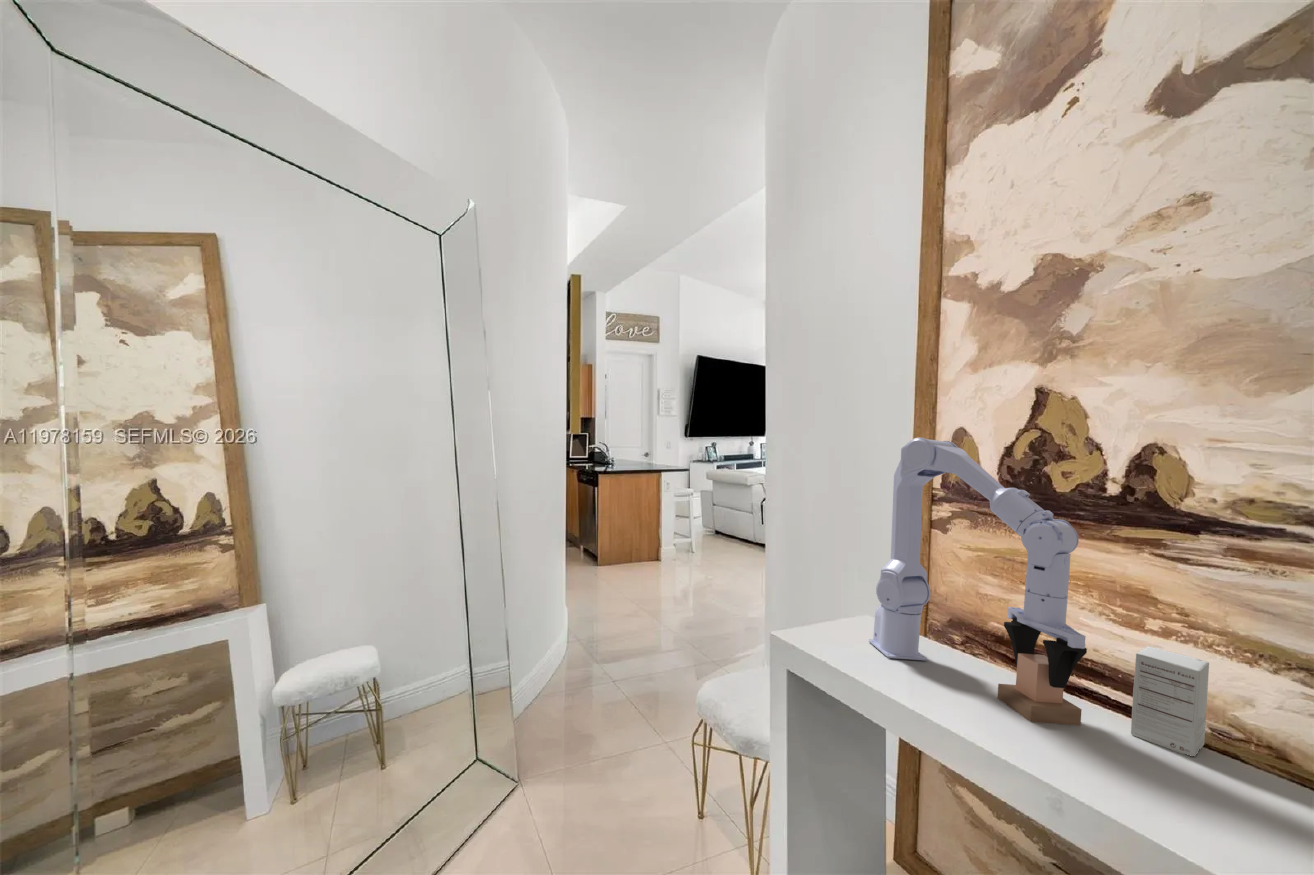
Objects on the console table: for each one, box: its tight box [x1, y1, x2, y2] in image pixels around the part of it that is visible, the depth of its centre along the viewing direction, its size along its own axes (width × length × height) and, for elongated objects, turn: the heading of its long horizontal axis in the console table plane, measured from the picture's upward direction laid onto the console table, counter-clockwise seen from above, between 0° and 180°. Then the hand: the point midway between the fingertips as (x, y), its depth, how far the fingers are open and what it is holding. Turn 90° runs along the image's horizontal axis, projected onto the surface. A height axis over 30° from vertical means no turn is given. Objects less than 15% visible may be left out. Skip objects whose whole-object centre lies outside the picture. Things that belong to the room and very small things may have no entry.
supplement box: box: [1130, 646, 1210, 757], centre depth 84 cm, size 7×7×13 cm
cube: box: [1015, 653, 1064, 703], centre depth 90 cm, size 4×4×6 cm
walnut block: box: [996, 683, 1082, 726], centre depth 90 cm, size 8×8×3 cm
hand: (1039, 676), depth 90 cm, fingers open, 7 cm apart
